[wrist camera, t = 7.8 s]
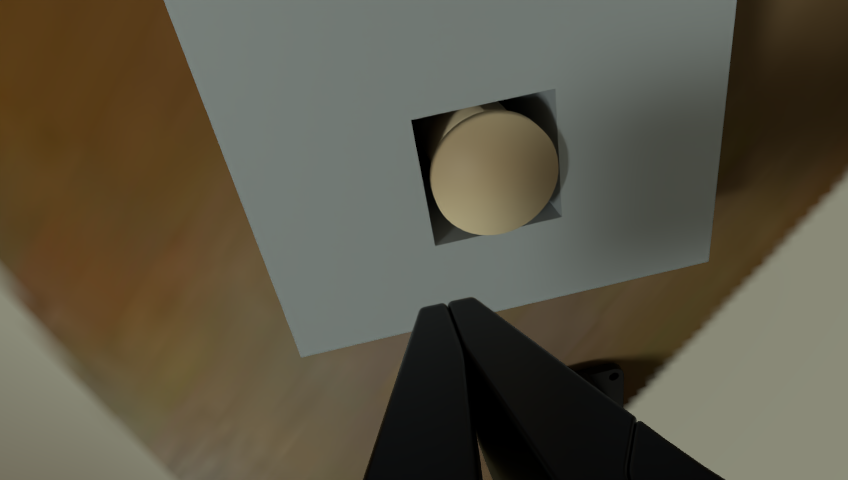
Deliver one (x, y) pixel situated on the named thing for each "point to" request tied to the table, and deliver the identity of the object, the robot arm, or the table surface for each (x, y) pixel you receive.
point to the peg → (488, 167)
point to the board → (448, 91)
